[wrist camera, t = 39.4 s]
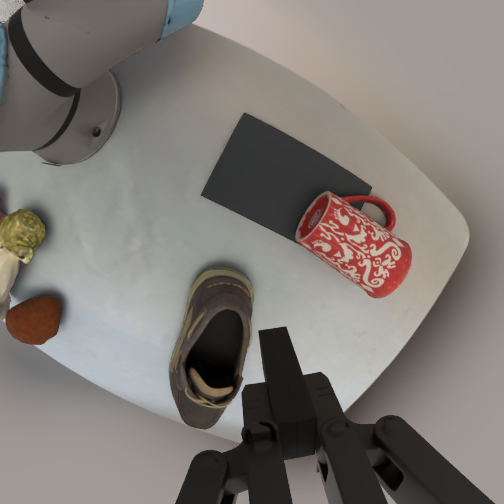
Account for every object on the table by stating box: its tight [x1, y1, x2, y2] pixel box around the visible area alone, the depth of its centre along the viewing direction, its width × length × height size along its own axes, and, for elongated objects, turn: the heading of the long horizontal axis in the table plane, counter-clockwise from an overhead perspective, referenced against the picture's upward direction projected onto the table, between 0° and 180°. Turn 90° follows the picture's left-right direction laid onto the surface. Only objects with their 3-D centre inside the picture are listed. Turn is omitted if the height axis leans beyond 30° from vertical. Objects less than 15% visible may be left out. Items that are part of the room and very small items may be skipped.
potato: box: [5, 296, 61, 345], centre depth 36 cm, size 8×12×8 cm
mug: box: [295, 191, 412, 298], centre depth 36 cm, size 13×9×14 cm
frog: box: [0, 209, 46, 321], centre depth 31 cm, size 12×13×18 cm
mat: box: [201, 113, 372, 245], centre depth 37 cm, size 20×12×1 cm, turn 63°
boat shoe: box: [169, 267, 254, 429], centre depth 38 cm, size 11×29×11 cm, turn 169°
